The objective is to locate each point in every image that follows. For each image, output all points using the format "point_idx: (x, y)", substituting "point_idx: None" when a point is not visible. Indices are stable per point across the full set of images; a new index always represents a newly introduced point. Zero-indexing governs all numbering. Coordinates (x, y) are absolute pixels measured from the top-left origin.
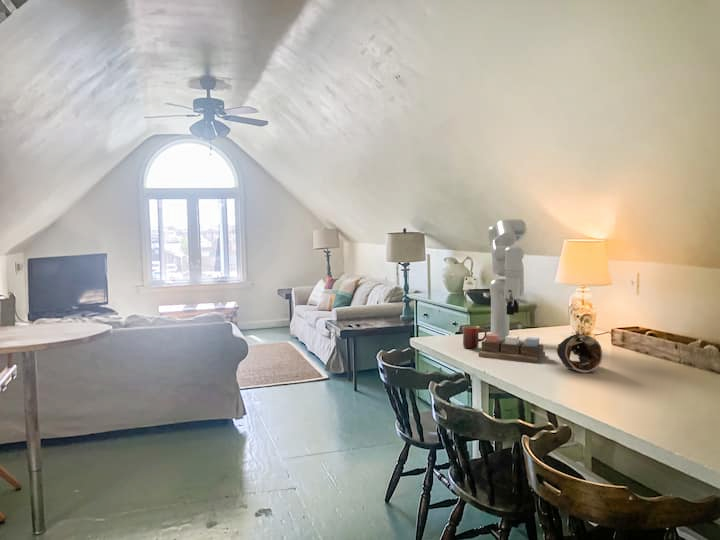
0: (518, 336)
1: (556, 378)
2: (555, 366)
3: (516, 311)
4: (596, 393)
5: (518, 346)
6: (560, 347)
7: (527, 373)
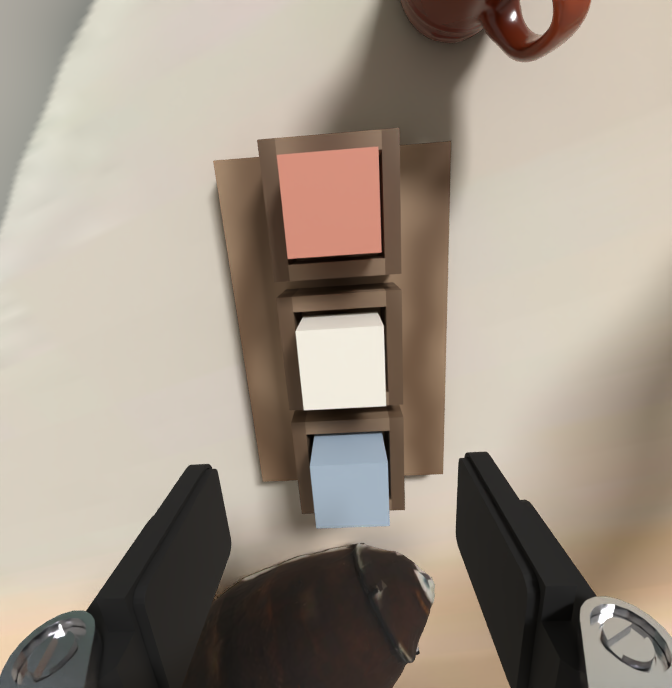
0: (375, 404)
1: (85, 571)
2: (259, 534)
3: (460, 537)
4: None
5: (290, 406)
6: (250, 631)
7: (73, 481)
